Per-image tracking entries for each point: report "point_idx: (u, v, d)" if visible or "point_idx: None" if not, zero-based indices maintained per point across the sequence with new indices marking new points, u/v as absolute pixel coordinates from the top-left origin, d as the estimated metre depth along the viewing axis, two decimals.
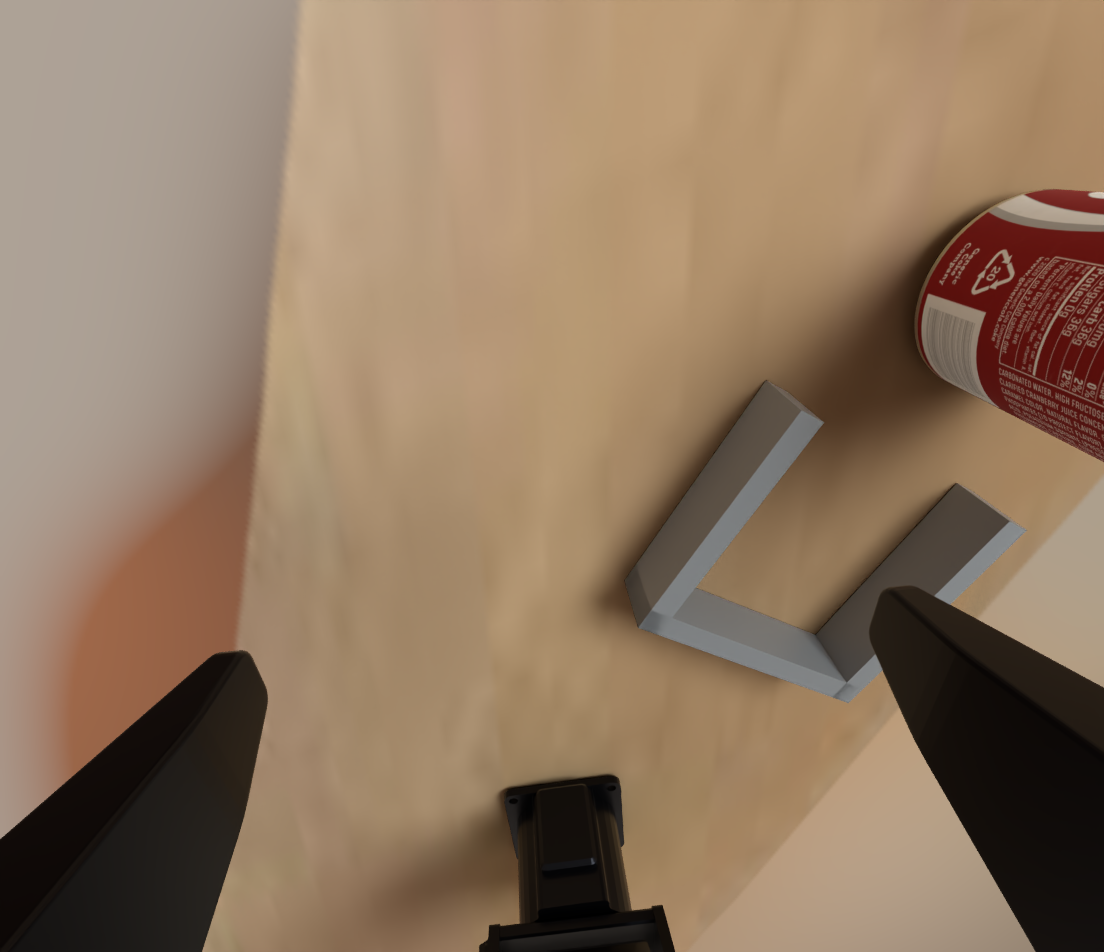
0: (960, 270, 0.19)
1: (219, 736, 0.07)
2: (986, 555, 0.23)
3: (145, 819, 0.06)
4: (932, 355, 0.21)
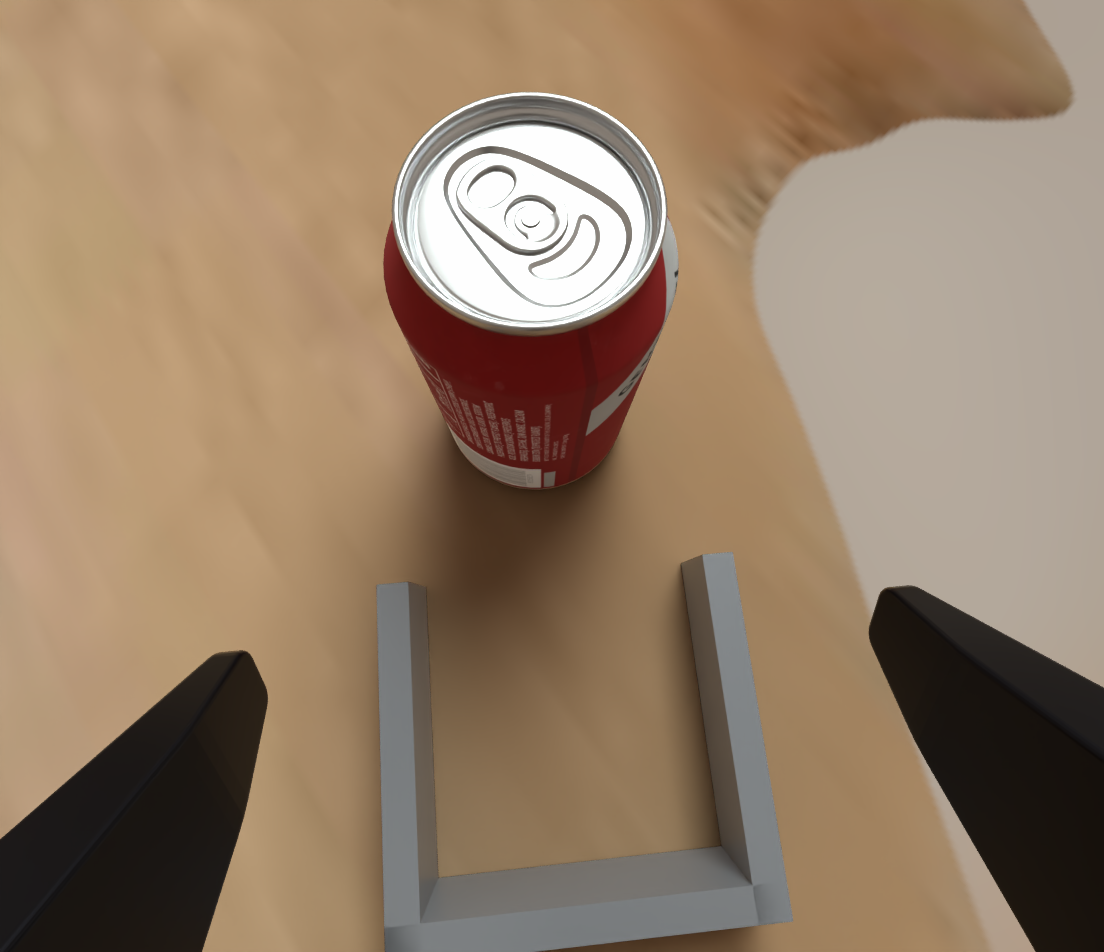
0: None
1: (219, 736, 0.07)
2: (723, 603, 0.19)
3: (145, 819, 0.06)
4: (495, 476, 0.21)
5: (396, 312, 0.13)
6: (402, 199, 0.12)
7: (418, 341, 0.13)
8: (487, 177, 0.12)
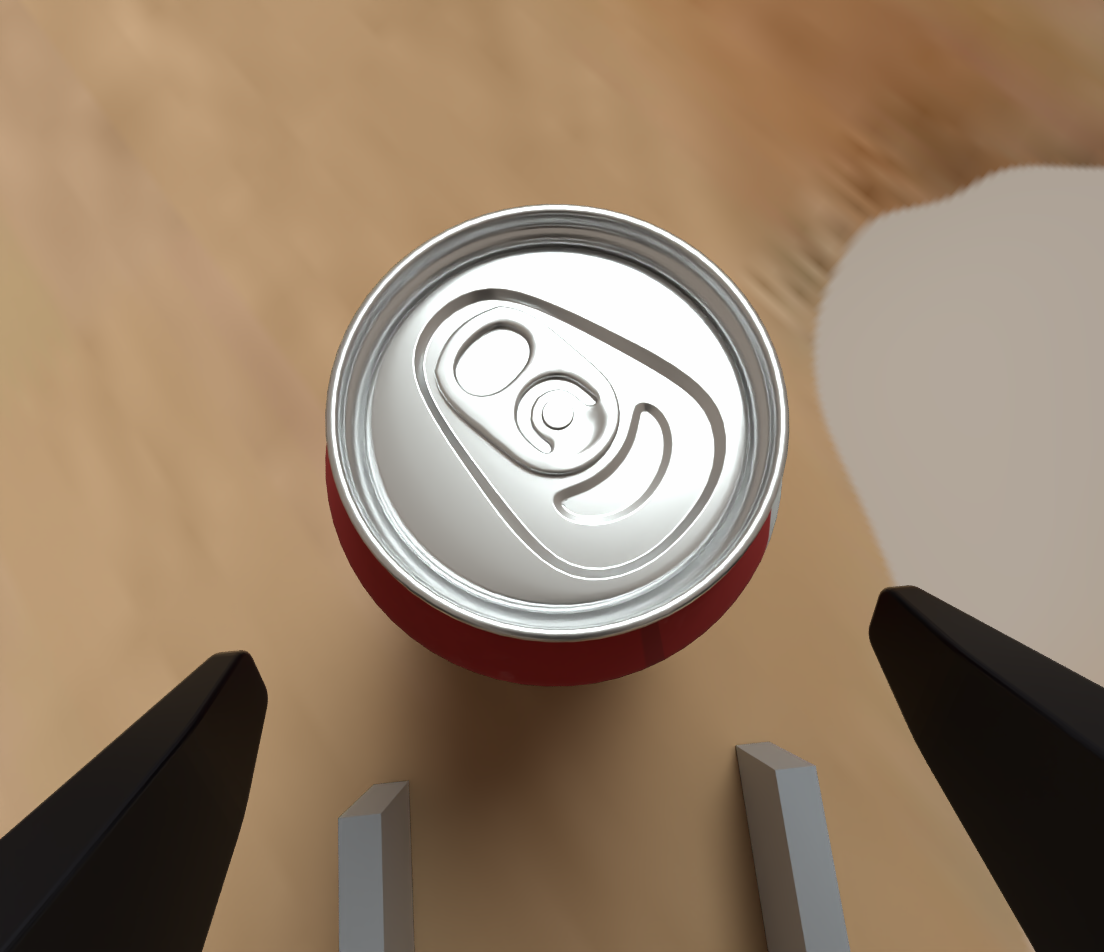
0: None
1: (219, 736, 0.07)
2: (806, 841, 0.14)
3: (145, 819, 0.06)
4: None
5: (343, 545, 0.08)
6: (345, 389, 0.07)
7: (377, 598, 0.08)
8: (486, 341, 0.08)
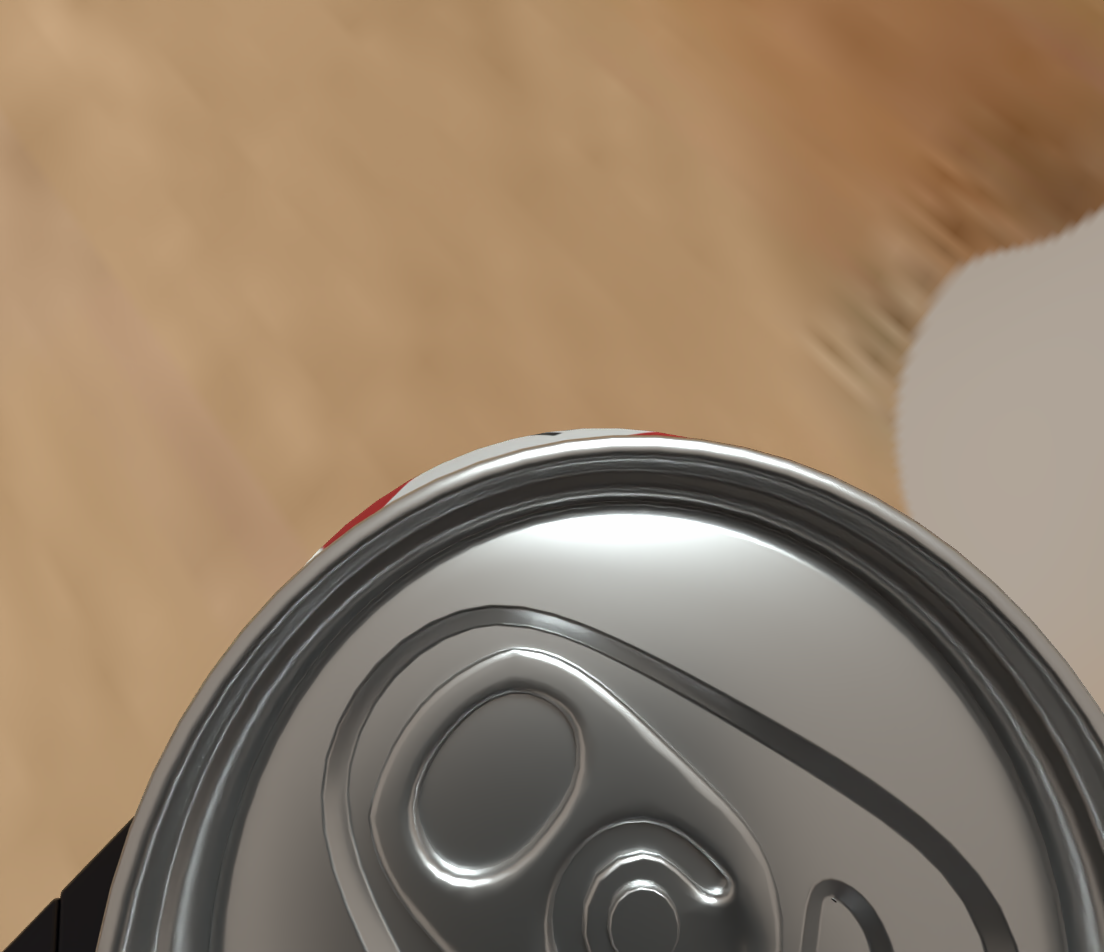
0: None
1: None
2: None
3: None
4: None
5: None
6: (152, 910, 0.03)
7: None
8: (483, 725, 0.04)
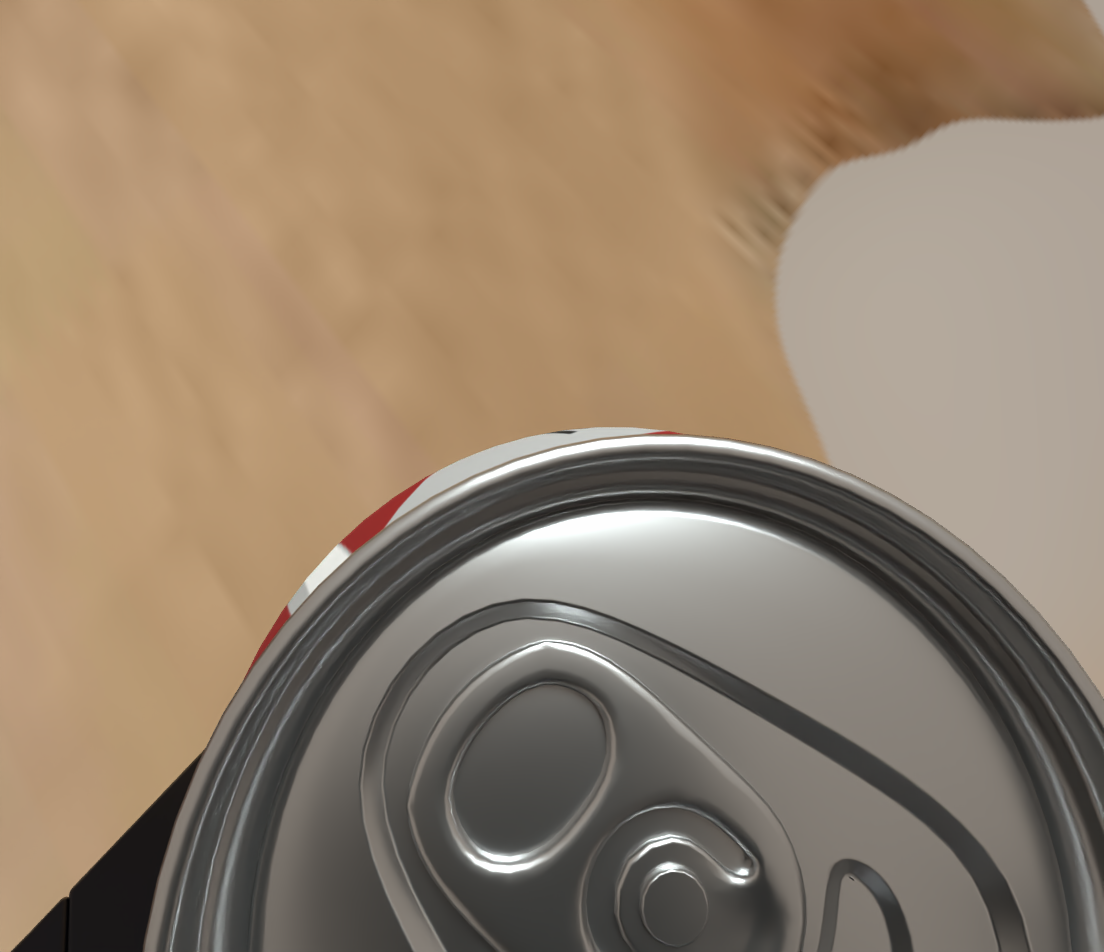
0: None
1: None
2: None
3: None
4: None
5: None
6: (196, 902, 0.03)
7: None
8: (516, 717, 0.04)
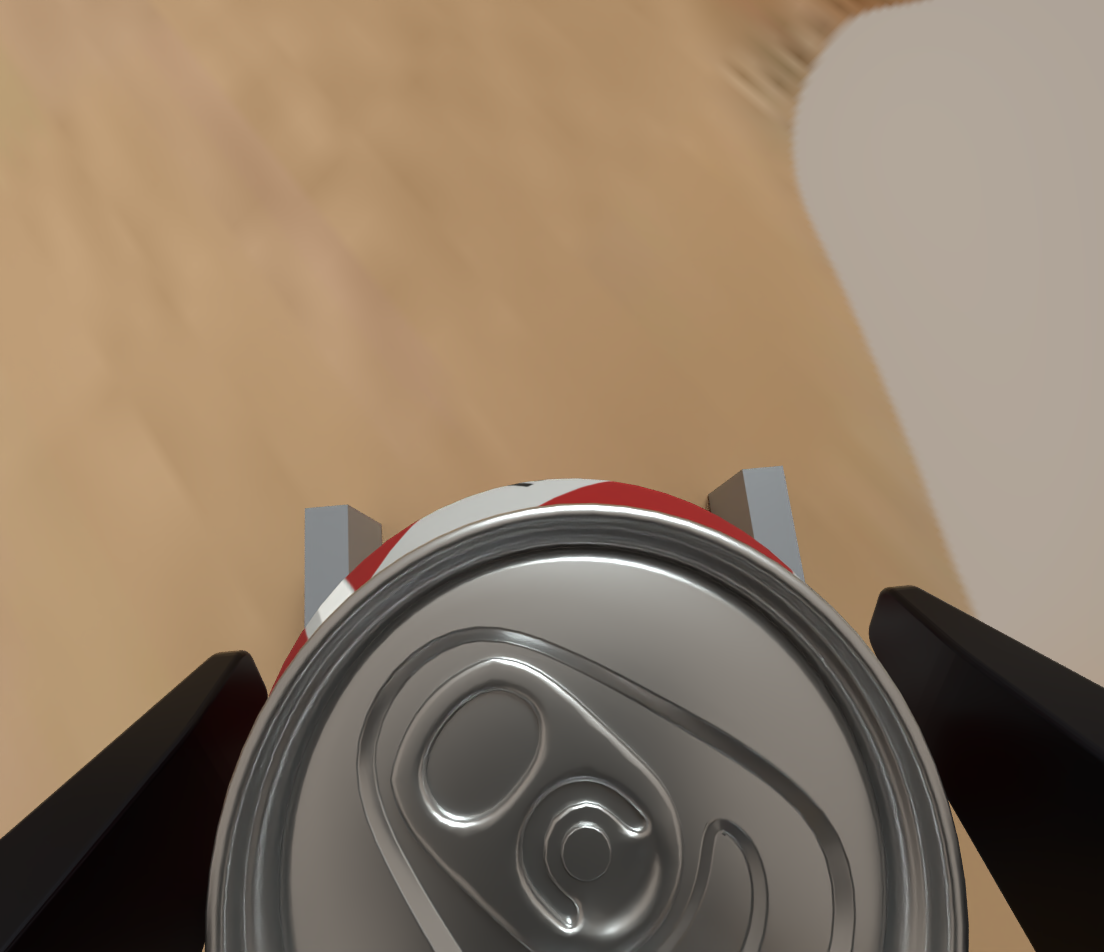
0: None
1: (219, 736, 0.07)
2: (771, 532, 0.14)
3: (145, 819, 0.06)
4: None
5: None
6: (243, 844, 0.04)
7: None
8: (472, 714, 0.05)
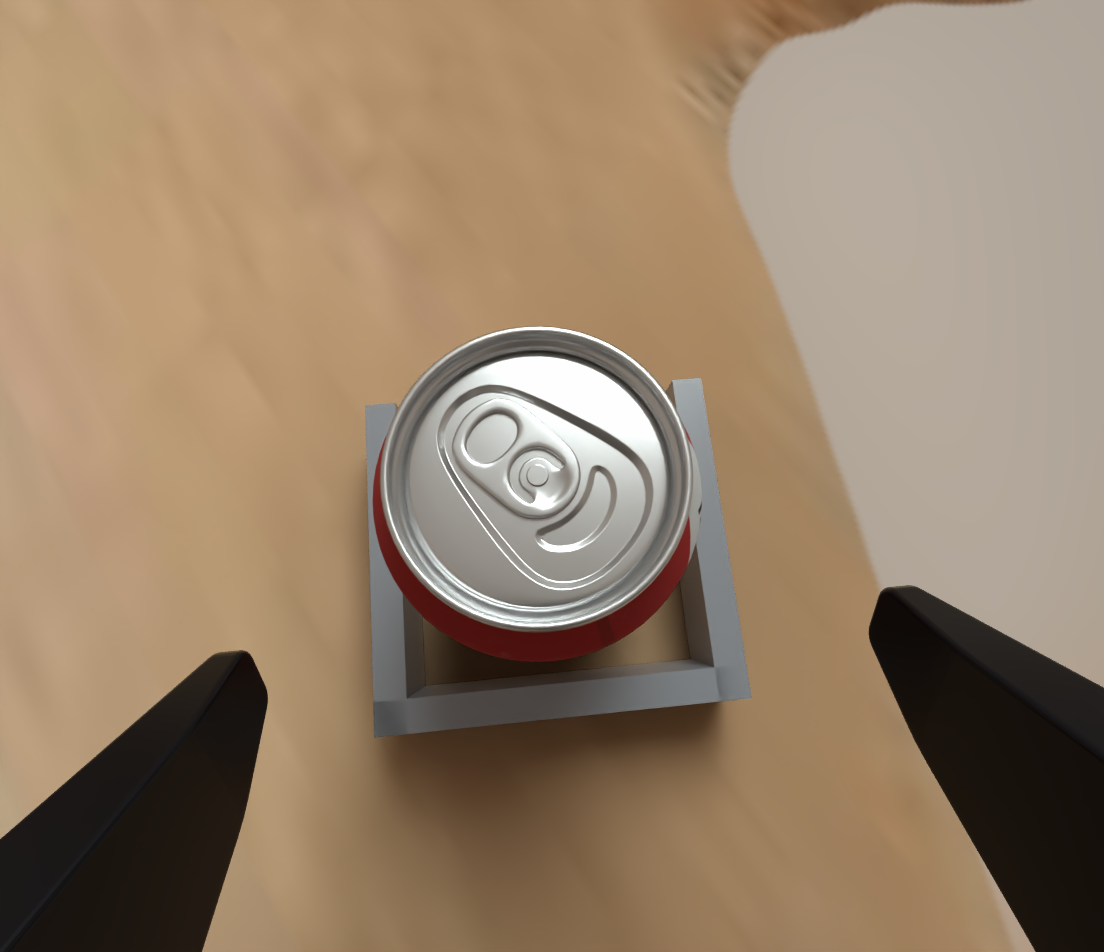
0: None
1: (219, 736, 0.07)
2: (691, 423, 0.20)
3: (145, 819, 0.06)
4: None
5: (388, 565, 0.12)
6: (391, 462, 0.10)
7: (414, 602, 0.11)
8: (487, 423, 0.11)
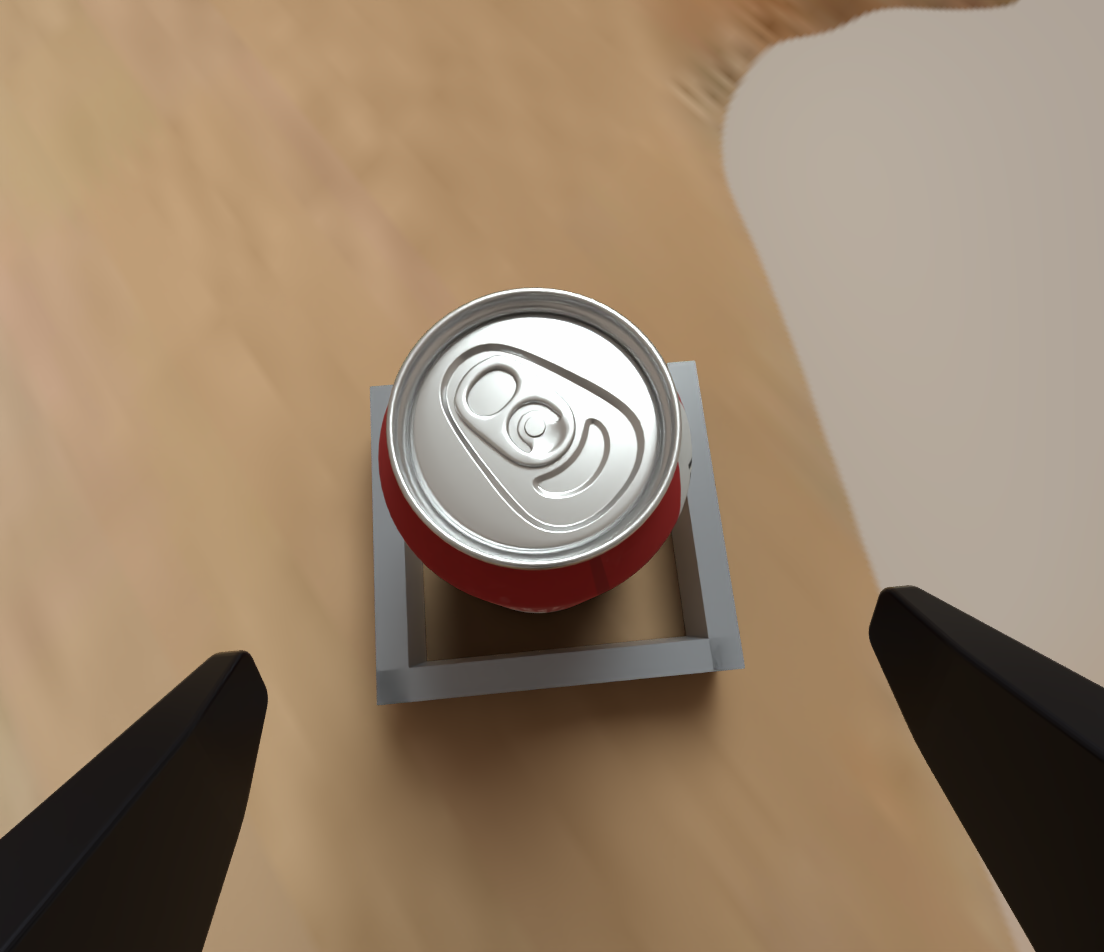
0: None
1: (219, 736, 0.07)
2: (686, 403, 0.21)
3: (145, 819, 0.06)
4: None
5: (393, 516, 0.12)
6: (397, 413, 0.11)
7: (418, 551, 0.12)
8: (487, 379, 0.12)
